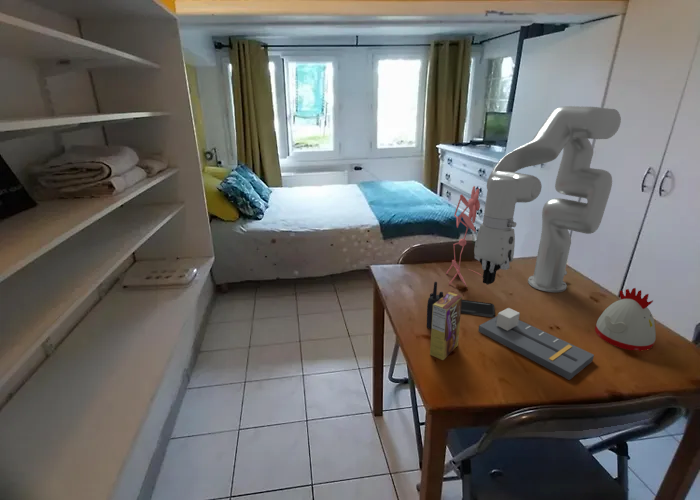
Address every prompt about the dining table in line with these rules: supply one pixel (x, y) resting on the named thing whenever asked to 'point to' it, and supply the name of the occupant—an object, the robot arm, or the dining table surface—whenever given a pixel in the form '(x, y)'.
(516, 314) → the fader cap
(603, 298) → the dining table surface
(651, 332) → the kitchen timer
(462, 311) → the phone
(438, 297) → the two-way radio
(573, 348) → the fader console
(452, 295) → the candy box
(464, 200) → the figurine
